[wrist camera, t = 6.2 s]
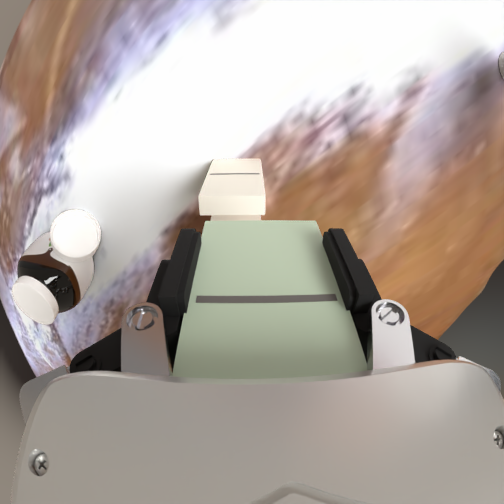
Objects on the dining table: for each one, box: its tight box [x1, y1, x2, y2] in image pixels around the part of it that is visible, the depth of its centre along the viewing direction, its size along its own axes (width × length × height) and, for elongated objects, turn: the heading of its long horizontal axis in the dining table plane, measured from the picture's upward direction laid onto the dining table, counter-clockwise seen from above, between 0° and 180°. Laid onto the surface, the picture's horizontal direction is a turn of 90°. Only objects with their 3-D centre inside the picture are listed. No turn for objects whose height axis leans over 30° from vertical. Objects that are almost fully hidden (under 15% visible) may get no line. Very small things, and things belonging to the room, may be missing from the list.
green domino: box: [172, 220, 367, 379], centre depth 9 cm, size 2×5×10 cm, turn 90°
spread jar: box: [12, 209, 101, 325], centre depth 30 cm, size 12×11×12 cm
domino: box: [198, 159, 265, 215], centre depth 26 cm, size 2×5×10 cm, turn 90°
